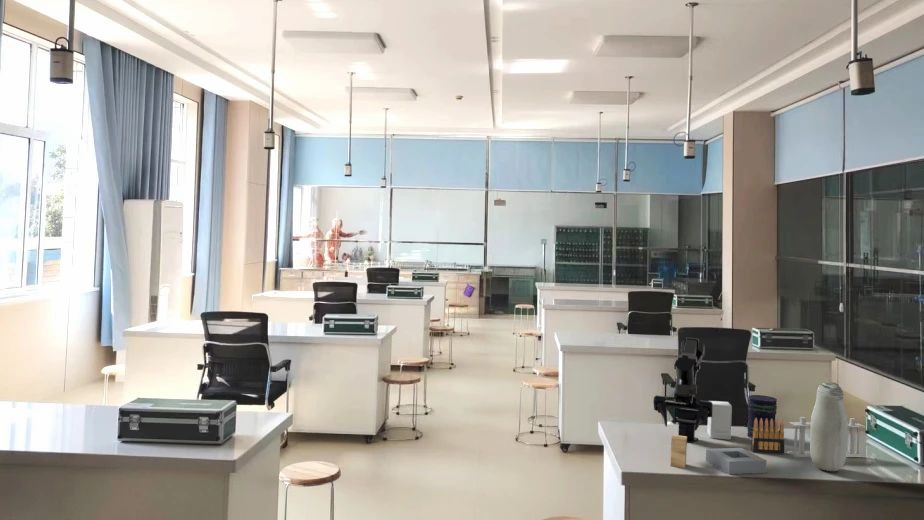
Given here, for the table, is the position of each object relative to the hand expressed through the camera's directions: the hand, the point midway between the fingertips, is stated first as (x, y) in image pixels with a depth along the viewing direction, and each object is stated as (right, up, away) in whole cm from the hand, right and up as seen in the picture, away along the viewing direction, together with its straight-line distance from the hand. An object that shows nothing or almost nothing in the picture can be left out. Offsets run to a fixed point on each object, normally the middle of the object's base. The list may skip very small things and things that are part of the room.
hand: (680, 427), depth 217 cm
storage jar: (+41, -12, +33) cm, 54 cm away
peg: (-2, -11, -4) cm, 12 cm away
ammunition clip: (+35, -12, +13) cm, 39 cm away
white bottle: (+46, -13, -3) cm, 48 cm away
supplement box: (+25, -11, +32) cm, 42 cm away
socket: (+16, -12, -4) cm, 20 cm away
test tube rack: (+54, -13, +12) cm, 57 cm away
